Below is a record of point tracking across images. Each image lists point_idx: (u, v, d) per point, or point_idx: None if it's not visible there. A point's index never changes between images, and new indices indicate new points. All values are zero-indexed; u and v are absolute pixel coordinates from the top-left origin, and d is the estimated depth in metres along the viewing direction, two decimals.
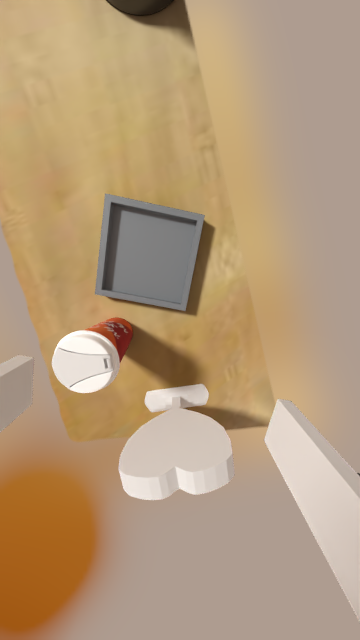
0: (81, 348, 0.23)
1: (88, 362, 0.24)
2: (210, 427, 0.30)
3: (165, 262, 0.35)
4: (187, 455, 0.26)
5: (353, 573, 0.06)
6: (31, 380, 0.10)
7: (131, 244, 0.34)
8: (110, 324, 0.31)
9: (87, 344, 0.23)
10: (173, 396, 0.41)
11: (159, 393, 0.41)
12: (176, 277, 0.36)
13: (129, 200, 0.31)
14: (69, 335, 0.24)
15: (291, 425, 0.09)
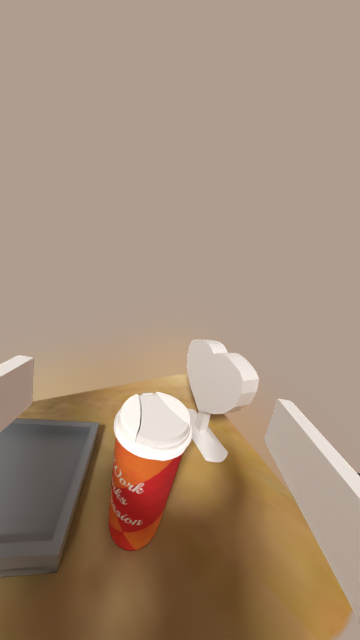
0: (134, 412, 0.20)
1: (150, 407, 0.21)
2: (190, 367, 0.41)
3: (31, 456, 0.27)
4: (206, 356, 0.37)
5: (353, 573, 0.06)
6: (32, 380, 0.10)
7: None
8: None
9: (128, 408, 0.20)
10: (197, 431, 0.39)
11: (201, 446, 0.36)
12: (56, 442, 0.30)
13: None
14: (121, 438, 0.18)
15: (291, 425, 0.09)
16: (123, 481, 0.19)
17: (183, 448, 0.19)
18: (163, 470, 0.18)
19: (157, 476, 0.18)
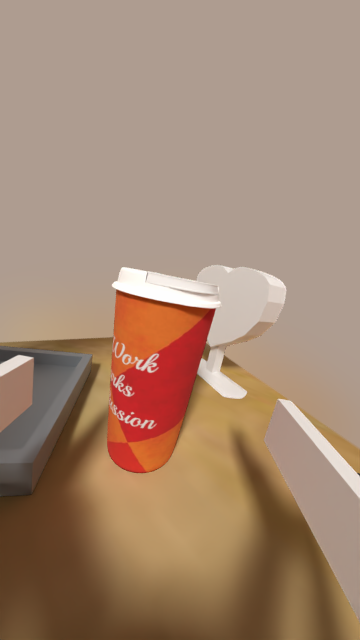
0: (141, 270, 0.14)
1: None
2: None
3: None
4: (218, 280, 0.31)
5: (353, 573, 0.06)
6: (32, 380, 0.10)
7: None
8: None
9: None
10: (210, 372, 0.33)
11: (216, 384, 0.30)
12: (38, 370, 0.24)
13: None
14: (123, 286, 0.12)
15: (291, 425, 0.09)
16: (128, 358, 0.13)
17: (214, 304, 0.13)
18: (186, 334, 0.13)
19: (178, 343, 0.13)
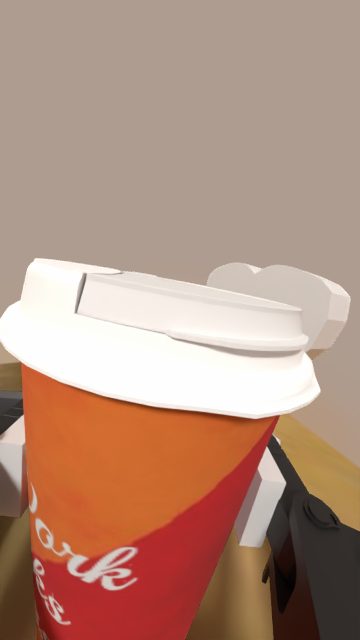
0: (97, 268, 0.05)
1: (154, 278, 0.07)
2: None
3: None
4: (239, 284, 0.22)
5: None
6: None
7: None
8: None
9: (79, 264, 0.06)
10: None
11: None
12: None
13: None
14: (12, 323, 0.04)
15: None
16: (47, 536, 0.04)
17: (312, 374, 0.04)
18: (229, 478, 0.04)
19: (201, 509, 0.04)
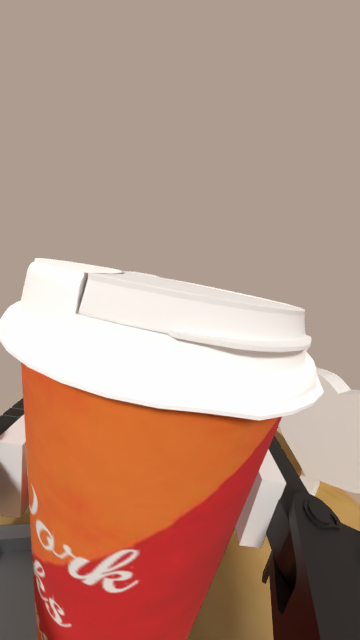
0: (97, 268, 0.05)
1: (155, 278, 0.07)
2: None
3: None
4: None
5: None
6: None
7: None
8: None
9: (80, 264, 0.06)
10: None
11: None
12: None
13: None
14: (12, 324, 0.03)
15: None
16: (48, 539, 0.04)
17: (315, 375, 0.04)
18: (231, 480, 0.04)
19: (203, 511, 0.04)
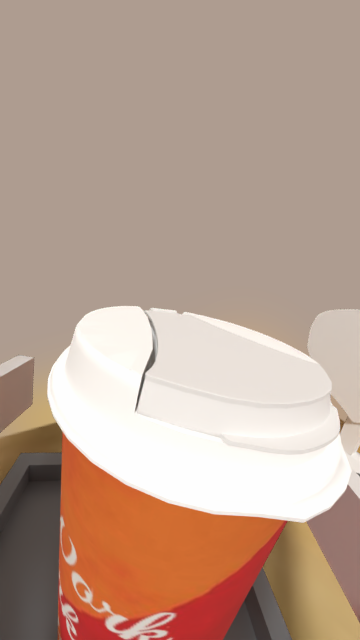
0: (130, 325, 0.06)
1: (180, 324, 0.07)
2: (321, 354, 0.27)
3: None
4: None
5: (353, 573, 0.06)
6: (32, 380, 0.10)
7: None
8: None
9: (111, 316, 0.06)
10: (347, 454, 0.24)
11: None
12: None
13: None
14: (66, 403, 0.04)
15: None
16: (86, 591, 0.05)
17: (340, 447, 0.04)
18: (263, 549, 0.04)
19: (236, 578, 0.04)
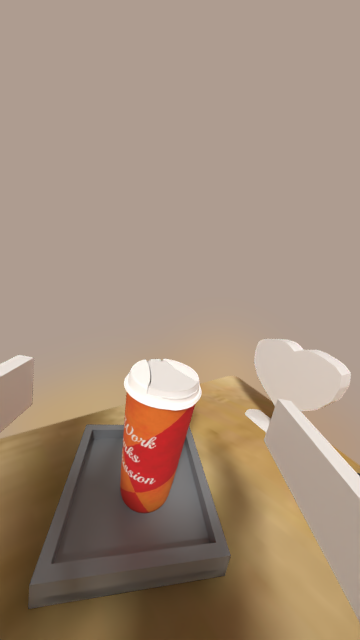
0: (144, 371, 0.20)
1: (159, 368, 0.22)
2: (261, 367, 0.41)
3: None
4: (283, 355, 0.37)
5: (353, 573, 0.06)
6: (32, 380, 0.10)
7: (124, 516, 0.21)
8: None
9: (138, 368, 0.21)
10: None
11: None
12: None
13: (54, 521, 0.18)
14: (132, 392, 0.18)
15: (291, 424, 0.09)
16: (135, 438, 0.19)
17: (193, 401, 0.19)
18: (175, 423, 0.19)
19: (169, 429, 0.19)
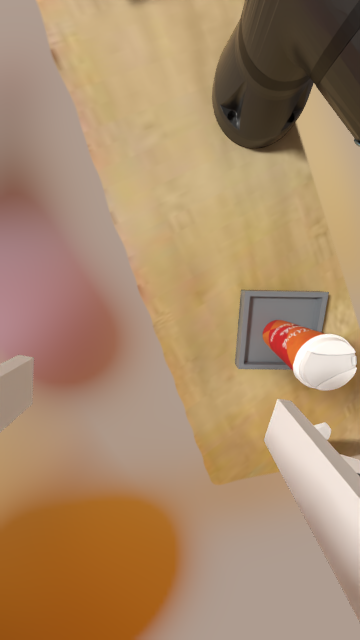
0: (332, 350, 0.26)
1: (336, 362, 0.26)
2: None
3: None
4: None
5: (353, 573, 0.06)
6: (32, 380, 0.10)
7: (262, 323, 0.41)
8: (301, 326, 0.34)
9: (338, 346, 0.26)
10: None
11: None
12: None
13: (265, 292, 0.38)
14: (312, 340, 0.27)
15: (291, 424, 0.09)
16: (290, 336, 0.31)
17: (299, 378, 0.28)
18: (289, 362, 0.30)
19: (287, 357, 0.30)
